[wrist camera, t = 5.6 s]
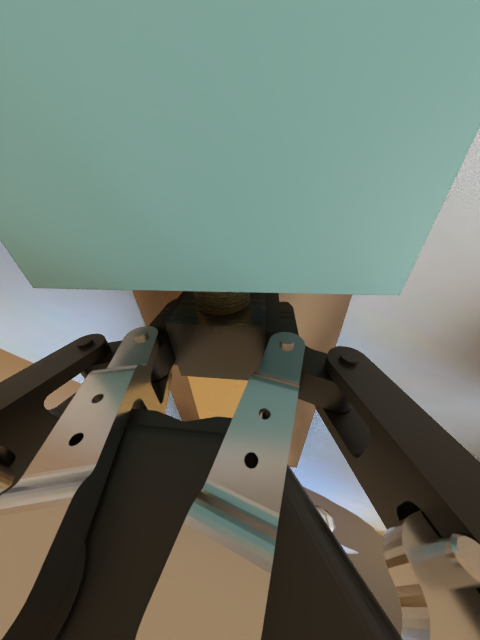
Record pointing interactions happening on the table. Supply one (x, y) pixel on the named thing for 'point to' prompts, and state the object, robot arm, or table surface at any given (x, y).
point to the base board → (313, 327)
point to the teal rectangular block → (231, 140)
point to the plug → (218, 346)
